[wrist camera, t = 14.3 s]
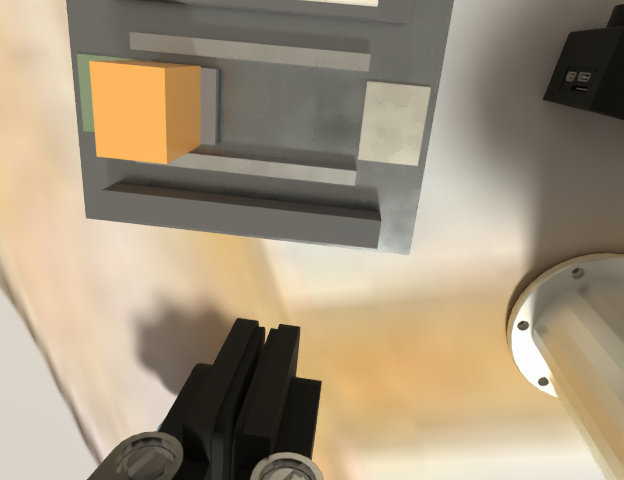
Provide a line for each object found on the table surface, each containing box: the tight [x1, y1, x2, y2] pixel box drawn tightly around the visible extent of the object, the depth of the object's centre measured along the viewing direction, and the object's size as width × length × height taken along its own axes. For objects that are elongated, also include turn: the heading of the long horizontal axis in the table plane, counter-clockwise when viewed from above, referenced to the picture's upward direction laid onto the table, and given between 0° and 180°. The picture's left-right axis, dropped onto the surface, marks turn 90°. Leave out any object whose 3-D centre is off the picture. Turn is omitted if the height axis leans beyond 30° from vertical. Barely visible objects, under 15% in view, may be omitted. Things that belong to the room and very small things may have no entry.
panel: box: [66, 0, 454, 255], centre depth 32 cm, size 24×18×3 cm
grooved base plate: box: [102, 0, 414, 249], centre depth 30 cm, size 19×16×3 cm
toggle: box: [89, 60, 219, 164], centre depth 29 cm, size 6×5×7 cm
